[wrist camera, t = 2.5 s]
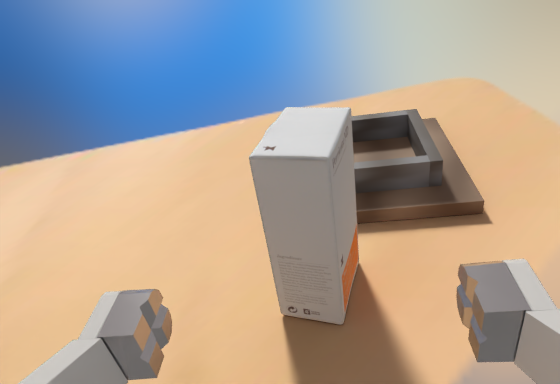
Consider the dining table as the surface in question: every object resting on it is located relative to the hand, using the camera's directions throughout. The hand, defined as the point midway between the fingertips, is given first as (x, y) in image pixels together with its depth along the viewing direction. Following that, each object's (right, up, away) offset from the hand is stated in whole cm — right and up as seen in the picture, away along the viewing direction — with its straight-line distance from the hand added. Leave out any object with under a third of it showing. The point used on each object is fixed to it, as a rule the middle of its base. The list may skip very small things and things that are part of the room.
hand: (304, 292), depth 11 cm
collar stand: (+8, +5, +28) cm, 30 cm away
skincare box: (+2, -4, +17) cm, 18 cm away
